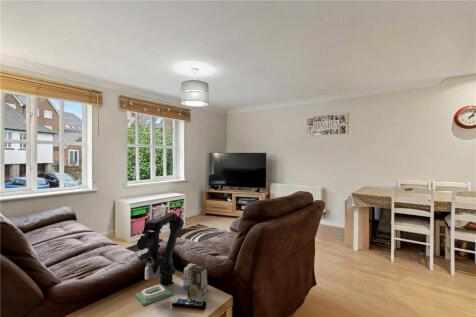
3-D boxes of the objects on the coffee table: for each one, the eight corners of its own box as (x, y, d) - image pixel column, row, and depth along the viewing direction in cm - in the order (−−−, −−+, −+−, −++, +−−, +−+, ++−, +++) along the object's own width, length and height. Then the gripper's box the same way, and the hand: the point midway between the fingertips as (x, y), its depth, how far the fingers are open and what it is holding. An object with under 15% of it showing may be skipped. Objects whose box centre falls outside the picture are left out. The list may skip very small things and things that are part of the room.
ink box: (190, 290, 138) (191, 270, 139) (182, 289, 139) (183, 269, 140) (196, 283, 147) (196, 263, 147) (188, 282, 148) (189, 263, 148)
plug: (156, 274, 136) (157, 259, 136) (159, 276, 133) (159, 262, 133) (144, 277, 132) (144, 263, 132) (146, 280, 129) (147, 265, 129)
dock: (163, 286, 143) (163, 281, 143) (172, 295, 134) (172, 289, 134) (135, 295, 132) (135, 290, 132) (143, 305, 123) (143, 300, 123)
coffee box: (207, 297, 132) (208, 267, 133) (201, 303, 127) (201, 272, 127) (193, 293, 136) (194, 264, 136) (186, 298, 130) (187, 268, 131)
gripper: (132, 241, 135) (132, 269, 135) (144, 251, 121) (143, 283, 121) (152, 237, 142) (152, 264, 142) (166, 247, 128) (165, 276, 128)
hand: (153, 271), depth 133 cm, fingers closed on plug, 4 cm apart
